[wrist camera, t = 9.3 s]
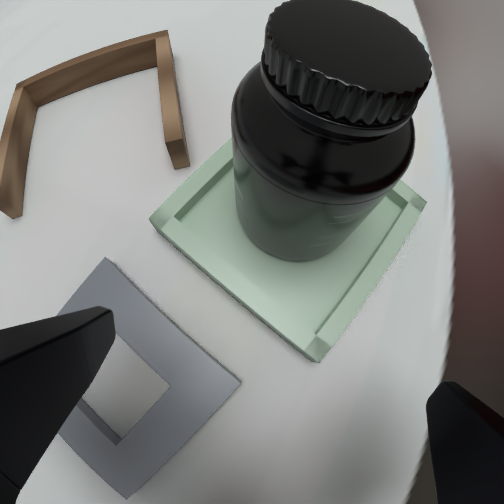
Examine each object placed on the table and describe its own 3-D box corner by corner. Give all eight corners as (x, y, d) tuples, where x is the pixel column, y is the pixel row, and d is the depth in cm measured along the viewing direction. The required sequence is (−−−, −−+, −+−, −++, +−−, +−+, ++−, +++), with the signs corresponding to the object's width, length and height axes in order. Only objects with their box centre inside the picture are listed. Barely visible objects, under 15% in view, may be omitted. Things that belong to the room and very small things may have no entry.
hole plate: (132, 492, 14) (126, 499, 13) (23, 375, 16) (13, 375, 15) (241, 380, 16) (240, 383, 15) (113, 262, 18) (105, 257, 17)
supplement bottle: (211, 196, 18) (177, 13, 7) (300, 140, 20) (340, -29, 8) (288, 291, 17) (370, 174, 5) (374, 219, 18) (492, 80, 7)
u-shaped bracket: (189, 165, 20) (182, 138, 17) (12, 218, 19) (-11, 202, 16) (172, 55, 23) (167, 29, 20) (30, 103, 22) (16, 84, 19)
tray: (311, 361, 17) (319, 363, 15) (156, 230, 19) (148, 218, 17) (414, 213, 19) (427, 202, 18) (277, 113, 21) (280, 96, 20)
